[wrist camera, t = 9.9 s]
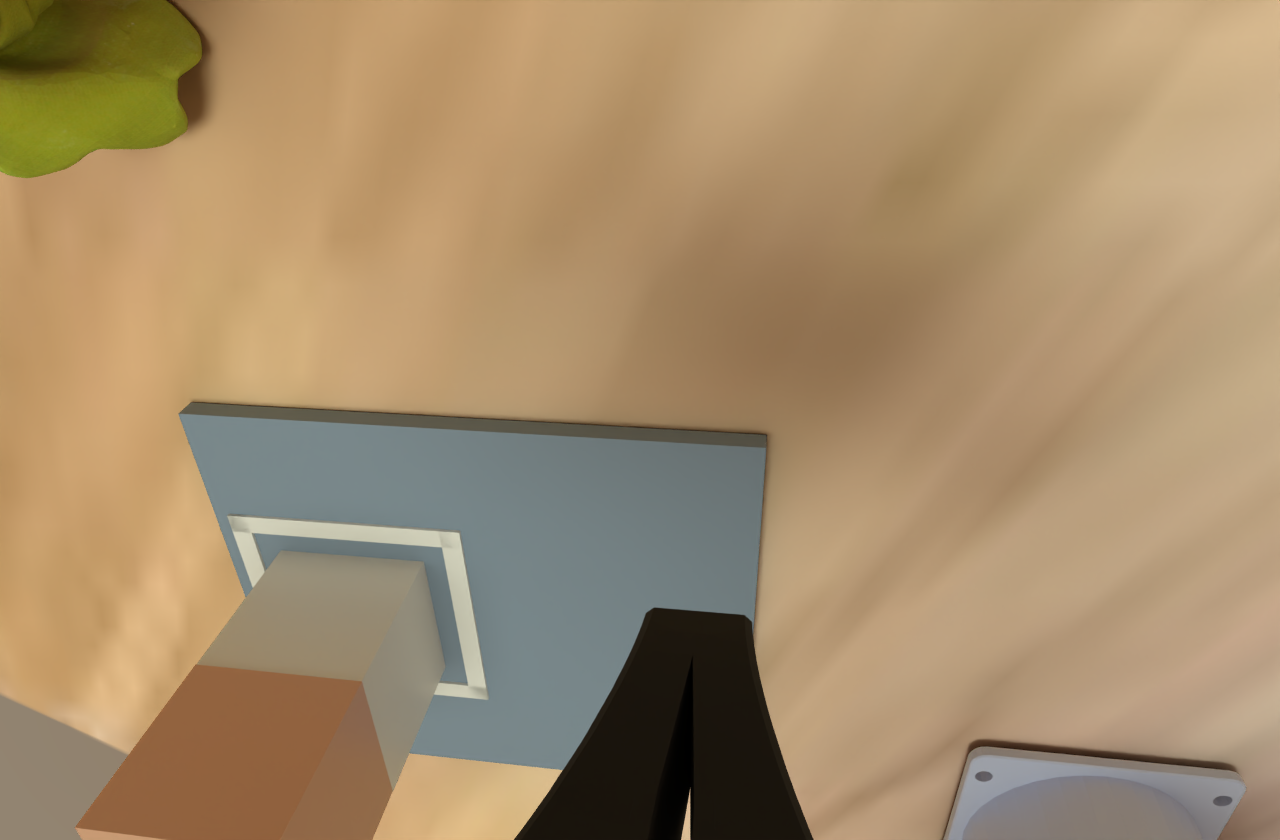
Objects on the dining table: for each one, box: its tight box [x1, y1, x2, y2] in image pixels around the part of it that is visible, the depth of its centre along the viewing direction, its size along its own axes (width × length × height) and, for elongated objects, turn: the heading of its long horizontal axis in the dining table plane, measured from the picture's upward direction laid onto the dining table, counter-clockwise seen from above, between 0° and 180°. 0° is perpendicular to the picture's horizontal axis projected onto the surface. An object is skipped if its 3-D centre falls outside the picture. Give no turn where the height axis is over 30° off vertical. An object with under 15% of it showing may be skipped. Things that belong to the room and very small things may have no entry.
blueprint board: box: [179, 403, 767, 770], centre depth 26 cm, size 14×16×1 cm
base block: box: [196, 550, 446, 790], centre depth 25 cm, size 4×4×4 cm
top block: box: [75, 665, 393, 840], centre depth 21 cm, size 4×4×4 cm
